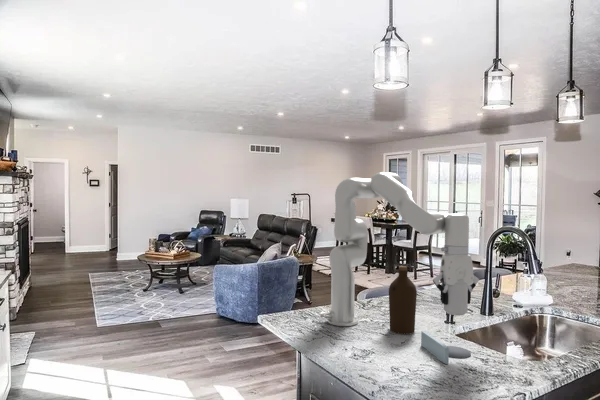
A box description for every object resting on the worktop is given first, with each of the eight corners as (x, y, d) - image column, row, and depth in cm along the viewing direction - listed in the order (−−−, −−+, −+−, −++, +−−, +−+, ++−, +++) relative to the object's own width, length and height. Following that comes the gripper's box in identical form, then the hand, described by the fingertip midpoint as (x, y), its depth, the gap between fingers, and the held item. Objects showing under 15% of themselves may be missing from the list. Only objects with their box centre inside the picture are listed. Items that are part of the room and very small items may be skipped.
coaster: (448, 359, 135) (448, 357, 135) (433, 347, 145) (433, 346, 145) (477, 357, 137) (477, 356, 137) (460, 346, 147) (460, 345, 147)
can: (461, 309, 144) (462, 275, 144) (471, 316, 137) (472, 279, 137) (440, 309, 144) (440, 275, 144) (448, 316, 137) (449, 279, 137)
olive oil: (413, 336, 156) (414, 269, 156) (385, 332, 160) (386, 267, 160) (418, 328, 166) (419, 265, 165) (391, 324, 170) (392, 263, 170)
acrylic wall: (444, 363, 132) (445, 347, 131) (421, 345, 147) (421, 331, 147) (448, 363, 132) (448, 347, 132) (424, 345, 147) (424, 330, 147)
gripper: (438, 252, 135) (437, 307, 135) (486, 251, 138) (485, 305, 138) (426, 249, 142) (426, 301, 143) (473, 248, 146) (472, 299, 146)
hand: (455, 302), depth 141 cm, fingers closed on can, 7 cm apart
